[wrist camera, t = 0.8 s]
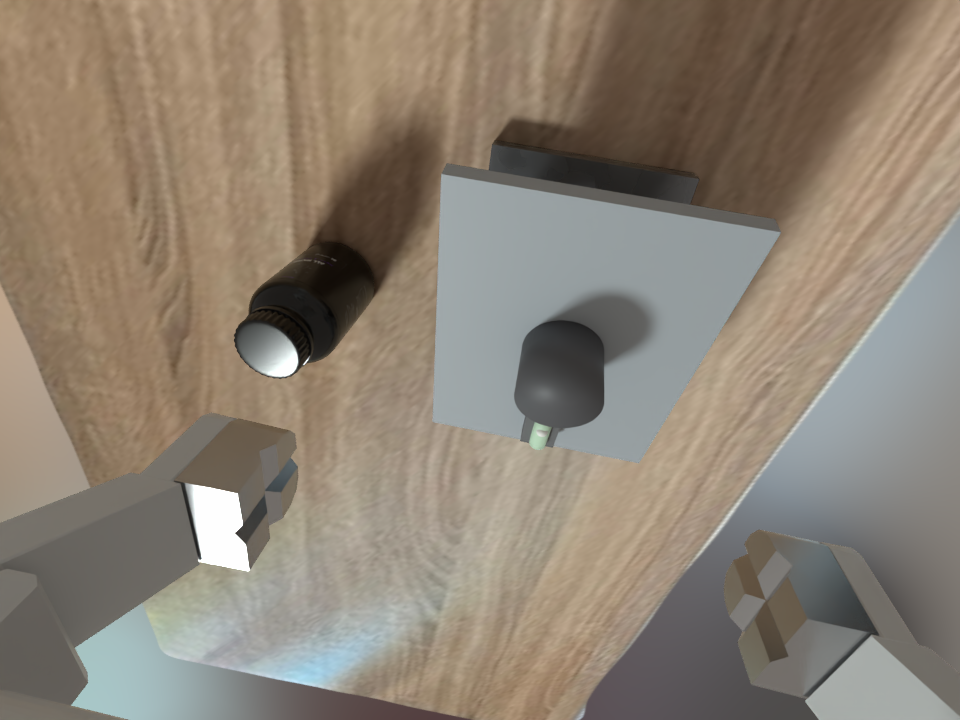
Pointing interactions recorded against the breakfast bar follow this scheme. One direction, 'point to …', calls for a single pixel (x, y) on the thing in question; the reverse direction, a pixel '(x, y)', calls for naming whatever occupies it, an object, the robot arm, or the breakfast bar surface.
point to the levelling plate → (579, 307)
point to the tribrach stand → (593, 172)
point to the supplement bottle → (304, 310)
